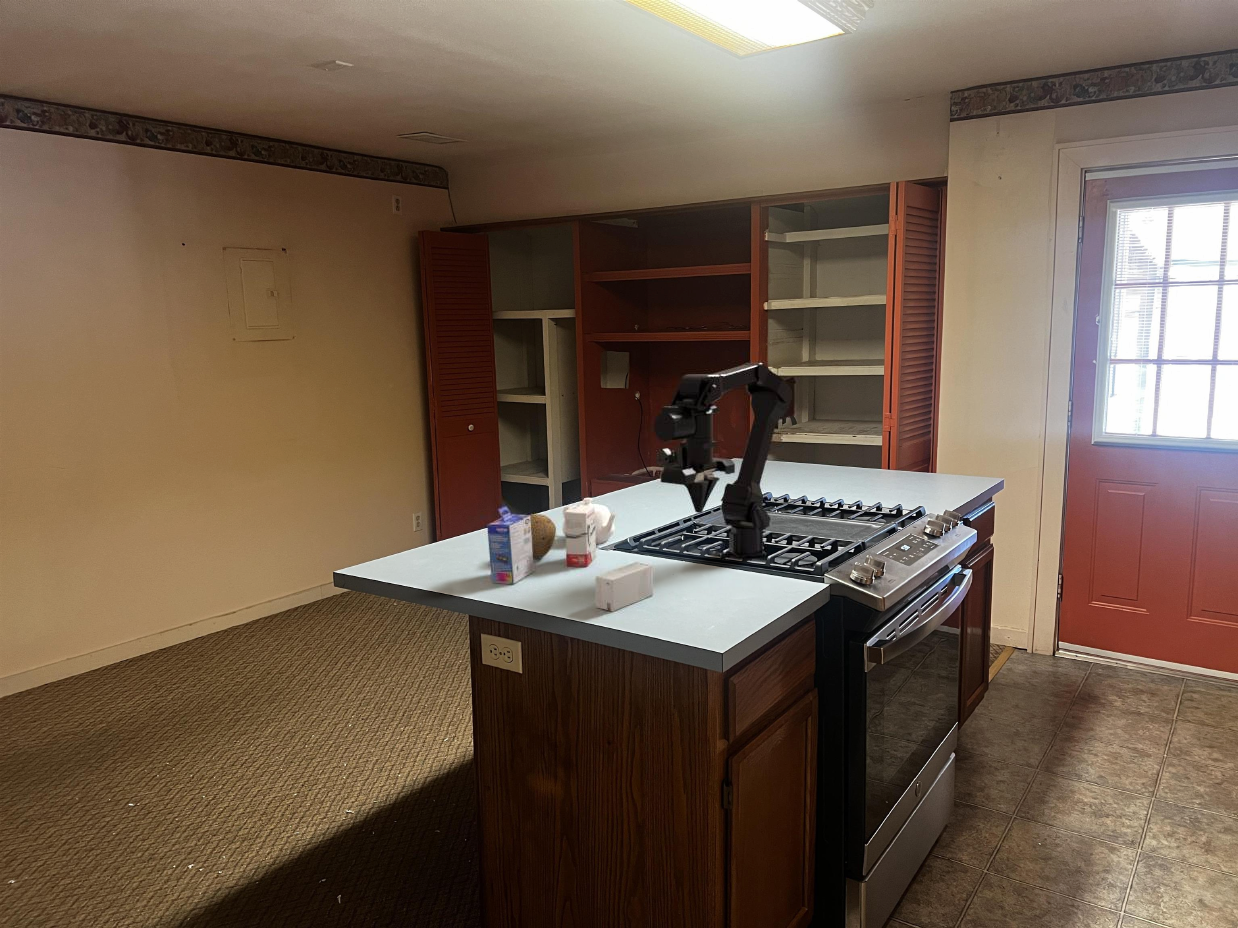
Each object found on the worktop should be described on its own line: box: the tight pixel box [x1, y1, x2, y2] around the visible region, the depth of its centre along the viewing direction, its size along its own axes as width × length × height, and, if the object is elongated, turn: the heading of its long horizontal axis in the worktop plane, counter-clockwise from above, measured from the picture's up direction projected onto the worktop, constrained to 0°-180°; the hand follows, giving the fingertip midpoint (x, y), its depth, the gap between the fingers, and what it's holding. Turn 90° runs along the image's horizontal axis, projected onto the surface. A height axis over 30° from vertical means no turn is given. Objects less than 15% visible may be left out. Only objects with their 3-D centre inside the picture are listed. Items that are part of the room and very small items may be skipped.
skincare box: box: [595, 561, 654, 612], centre depth 161 cm, size 6×4×12 cm
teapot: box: [562, 497, 618, 545], centre depth 207 cm, size 20×12×10 cm, turn 40°
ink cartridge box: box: [486, 506, 535, 585], centre depth 177 cm, size 10×6×14 cm, turn 161°
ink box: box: [564, 504, 597, 567], centre depth 188 cm, size 9×5×12 cm, turn 168°
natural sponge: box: [529, 513, 557, 559], centre depth 192 cm, size 9×9×10 cm
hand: (698, 512), depth 179 cm, fingers closed
